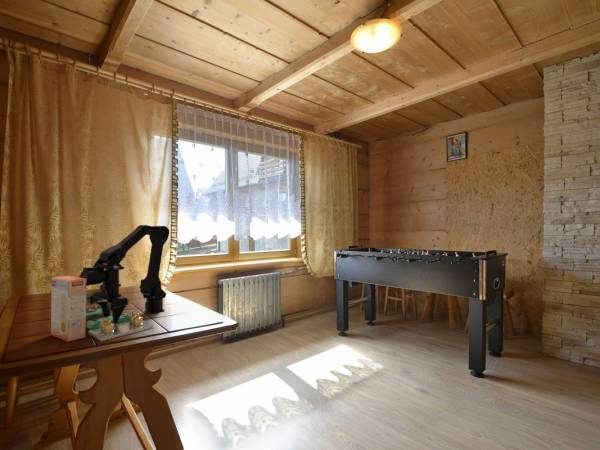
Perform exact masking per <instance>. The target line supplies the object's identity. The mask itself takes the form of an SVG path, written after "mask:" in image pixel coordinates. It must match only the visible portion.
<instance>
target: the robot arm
mask: <svg viewBox="0 0 600 450" xmlns="http://www.w3.org/2000/svg"><path fill="white" fill-rule="evenodd" d="M145 236H148V237H149V238H148V239H149V240H150V244H151V245H150V253H149V260H148V267H147V274H146V276H145V277H144V278H141V280H140V285H139V291H140V294H142V296H143V299H145V302H144V313H147V314H150V315H151V314H156V313H160V312H161V313H163V312H165V309H164V306H163V305H164V304H163V303H164V300H163V299H165V298H166V297H167V296H166V295H167V292H166V291H165V290H164V289H162V280H161V279H160V270H161V264H162V257H163V256H162V255H163V252H164V251H163V250H164V245H165V244H166V242H167V241H168V240H169V236H170V228H168V226H167V225H154V226H153V225H148V224H139V225H138V226H137V227H136V228H135V229H134V230H132V231H131V232H130V233H129V234H128V235H127V236H125V237H124V238H123V239H122V240H120V241H119V242H118V243H117V244H115V245H112V246H109V247H107V248H106V249H104V250H102V251H101V252H100V253H99V257H98V259H97V260H96V261H95V263H94V264H93V266H91V267H89V266H88V267H83V268H82V271H81V272H80V274H79V276H78V277H79V278H84V279H86V287H87V286H88V287H89V286H93V285H94V286H95V285H99V284H100V285H99V288H98V289H96V290H93V291H92V292H89V293H86V304H89V305H90V306H91V305H94V304H97V306H100V307H101V309H102V312H103V316H104V317H109V314H110V312H111V316H112V317H113V323H114V324H115V323H117V322H118V320H119V318H120V316H121V314H123V312H124V310H125V308H127V306H128V305H129V299H128V298H127V297H124V296H122V294H121V293H120V287H122V284H121V283H120V270H121V271H122V270H124V269H125V266H123V265H122V264H121V262H123V260H124V259H125V257H126V255H127V253H128V251H129V250H131V249H132V248H133V247H134V246H135V245H136V244H137V243H138V242H140V241H141V240H142V239H144V237H145ZM104 317H103V318H104Z"/></svg>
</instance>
